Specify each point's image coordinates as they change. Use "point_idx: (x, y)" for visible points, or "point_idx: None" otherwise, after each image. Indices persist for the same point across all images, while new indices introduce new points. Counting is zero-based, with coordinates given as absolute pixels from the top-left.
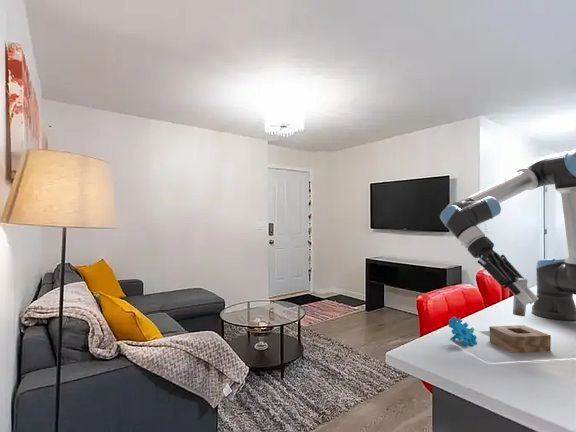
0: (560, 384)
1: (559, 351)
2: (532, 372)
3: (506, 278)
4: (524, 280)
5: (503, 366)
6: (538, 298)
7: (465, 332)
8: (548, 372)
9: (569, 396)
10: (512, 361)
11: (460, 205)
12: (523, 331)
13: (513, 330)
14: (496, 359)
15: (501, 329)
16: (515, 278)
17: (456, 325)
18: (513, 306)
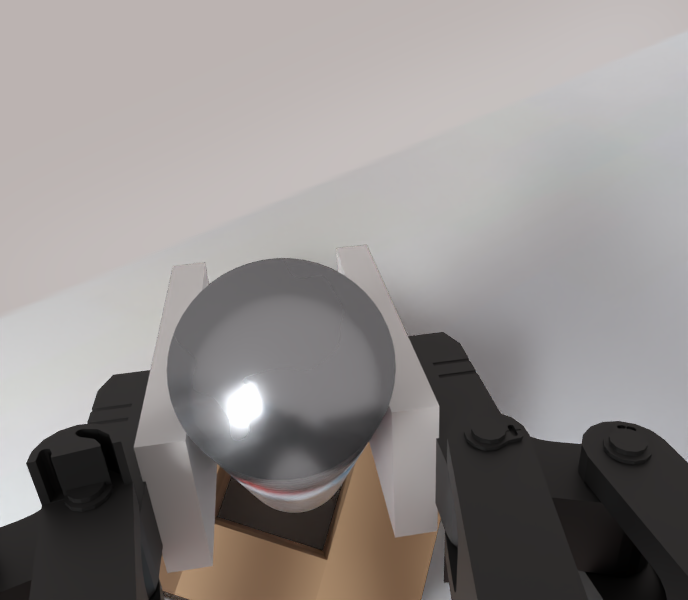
0: (574, 114)
1: (129, 322)
2: (575, 227)
3: (620, 470)
4: (329, 273)
5: (651, 330)
6: (174, 267)
7: None
8: (501, 196)
9: (642, 55)
10: (546, 350)
11: None
12: (217, 479)
13: (258, 537)
14: (607, 407)
15: (384, 560)
16: (369, 428)
17: None
18: (340, 485)
